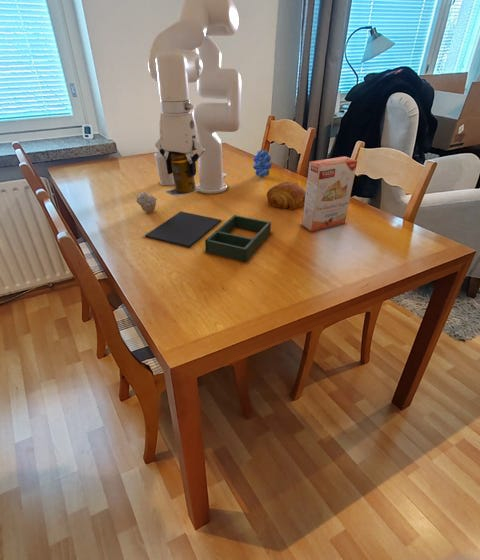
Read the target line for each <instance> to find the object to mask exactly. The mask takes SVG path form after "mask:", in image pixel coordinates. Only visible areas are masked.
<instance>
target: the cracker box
mask: <svg viewBox="0 0 480 560" xmlns="http://www.w3.org/2000/svg"><path fill="white" fill-rule="evenodd" d="M357 166H358V161H357V160H356V159H354V158H351V157H348V156H338V157H333V158H327V159H320V160H312V161H309V164H308V171H307V179H306V188H305V191H306V194H305V203H304V204H303V213H302V219H301V226H303V227H304V228H306V229H307V230H308V231H310V232H316V231H320V230H324V229H327V228H328V229H329V228H331V227H332V228H333V227H335V226H340V225H344V224H345V223H346V220H347V215H348V209H349V205H350V200H351V196H352V195H351V194H352V190H353V185H354V179H355V176H356V175H355V174H356V170H357Z"/></svg>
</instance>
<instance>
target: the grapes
mask: <svg viewBox="0 0 480 560" xmlns="http://www.w3.org/2000/svg"><path fill="white" fill-rule="evenodd" d="M271 159H272V156H271V155H270V154H268V151H267V150H266V149H263V150H258V151H257V153H256V155H255V156H254V157H253V162H254V163H253V165H252V168H253V170H255V172H254V173H255V175H256V176H259V178H261V179H264V178H265V176H268V175H270V169H271V168H272V167H273V166H272V164H273V163H271Z"/></svg>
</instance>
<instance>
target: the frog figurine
mask: <svg viewBox="0 0 480 560" xmlns="http://www.w3.org/2000/svg"><path fill="white" fill-rule="evenodd" d="M135 200H136V203H137V204H138V205H139V206H140V208H141V210H142V211H143V212H144V213H151V212H153V211H155V208H156V205H157V198H156V197H155V196H153V195H152V194H149V193H147V192H140V193H138V195H137V196H136V197H135Z"/></svg>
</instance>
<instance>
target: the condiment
mask: <svg viewBox="0 0 480 560" xmlns="http://www.w3.org/2000/svg"><path fill="white" fill-rule="evenodd" d="M170 153H171V158H172V159H171V167H172V173H173V178H174V184H173V185H174V188H173V189H169V190H165V191H164V192H165V193H167V194H168V195H171V196H173V197H175V198H177V197H181V196H184V195H188V194H192V193H195V192H199V190H201V189H198V188H196V182H195V181H196V180H195V175H194V176H193V177H191V178H190V177H188V168H187V164H188V163H189V161H188V159H187V157H186V154H185V153H179V152H171V151H170Z"/></svg>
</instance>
